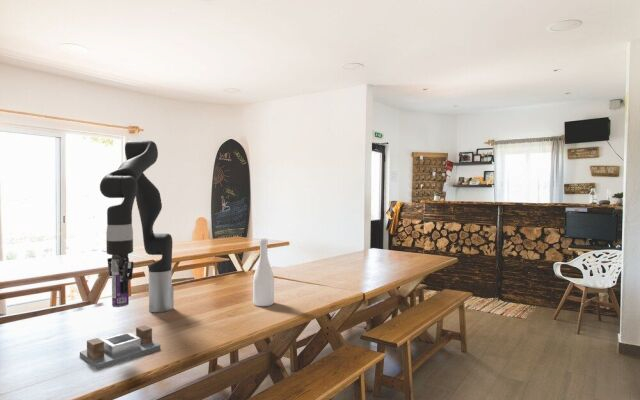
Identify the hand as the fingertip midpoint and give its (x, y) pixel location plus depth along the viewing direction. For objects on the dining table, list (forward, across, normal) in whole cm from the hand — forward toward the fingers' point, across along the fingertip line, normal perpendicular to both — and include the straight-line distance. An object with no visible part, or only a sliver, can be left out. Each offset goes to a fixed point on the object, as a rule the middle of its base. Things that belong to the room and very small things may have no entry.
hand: (120, 291), depth 124 cm
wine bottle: (+20, +6, -66) cm, 69 cm away
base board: (+20, 0, 0) cm, 20 cm away
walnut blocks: (+18, 0, 0) cm, 18 cm away
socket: (+18, 0, 0) cm, 18 cm away
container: (+5, 0, 0) cm, 5 cm away
